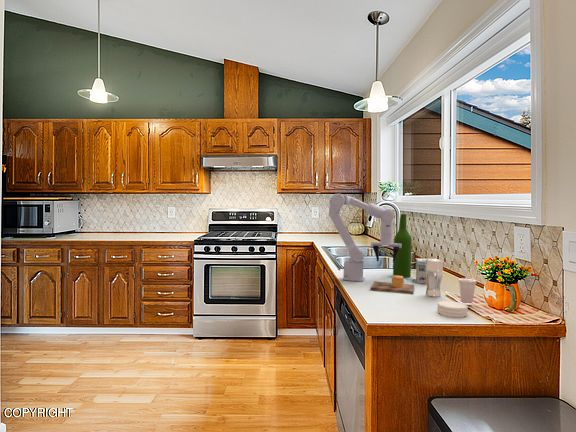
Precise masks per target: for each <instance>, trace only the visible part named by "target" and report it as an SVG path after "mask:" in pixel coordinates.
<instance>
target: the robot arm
mask: <svg viewBox="0 0 576 432" xmlns="http://www.w3.org/2000/svg"><path fill="white" fill-rule="evenodd" d="M344 205H345V206H348V205H351V206H354V207H357V208H360V209H362V210H365V212H366V214H367V215H369V216H371V217H374V218H376V219H380V236H379V237H380V239H379V240H380V241H371V242H370V246H371V247H372V249H373V252H374V254H375V259H376V262H379V261H380V255H379V254H380V253H379V252H380V251H379V250H380V248H383V247H384V248H393V249H392V251H393V253H392V254H393V257H392V263H393V262H395V257H396V254H397V252H398V250H399V248H401V247H402V244H399V243H394V242H393V233H394V232H393V231H394V229H393V228H394V227H393V222H394V221H393V220H395V215H394V212H393V211H392V210H390V209H386V207H382V206H380V205H378V204H377V203H376V202H373V203H372V202H371V203H366V202H364V201H362V200H359V199H356V198H354V197H352V196H350V195H346V194H342V193H334V194H333V195H332V196H331V198H330V201H329V209H328V217H329V218H330V220H331V222H332V223H333V225H334V227H335V229H336V231H337V232H338V235H339V236H340V238H341V239H342V242H343V243H344V245H345V246H346V248H347V250H348V257H349V259H348V261H344V263H343V279H342V280H343V281H351V282H352V281H353V282H363V281H364V280H365V277H364V256H365V255H364V253H363V251H362V250H361V249H360V248H359V247H358V246H357V244H356V242H355V241H354V239H353V237H352V235H351V233H350V232H349V230H348V228H347V226H346V225H345V223H344V221H343V219H342V218H341V216H340V212H341V209H342V208H343V206H344Z"/></svg>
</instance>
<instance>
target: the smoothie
mask: <svg viewBox="0 0 576 432" xmlns="http://www.w3.org/2000/svg"><path fill="white" fill-rule="evenodd" d="M458 283H459V292H460V293H459V295H460V303H461V302H463V303H472V304H473V301H474V294H475V288H476V284H477V280H476V279H474V278H468V268H465V277H464V278H463V277H461V278H458Z"/></svg>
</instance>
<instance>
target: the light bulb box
mask: <svg viewBox="0 0 576 432" xmlns="http://www.w3.org/2000/svg"><path fill="white" fill-rule="evenodd" d="M426 259H427V258H419V257H416V261H415V262H416V266H415V267H416V268H415V279H416V282H417V283H418V284H427V282H426V274H425V266H426Z"/></svg>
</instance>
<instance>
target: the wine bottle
mask: <svg viewBox="0 0 576 432" xmlns="http://www.w3.org/2000/svg"><path fill="white" fill-rule="evenodd" d="M412 242H413V241H412V236H411V235H410V233H409V231H408V230H407V213H406V214H405V213H401V214H400V223H399V229H398V231H397V232H396V234H395V235H394V237H393V243H399V244H402V247H401V248H399V250H398V252H397V254H396V257H395V262H393V261H392V263H393V264H392V265H393V266H392V267H393V268H392V276H394V275H398V276H403V279H408V278H411V275H412V273H411V272H412V245H413V244H412Z"/></svg>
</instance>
